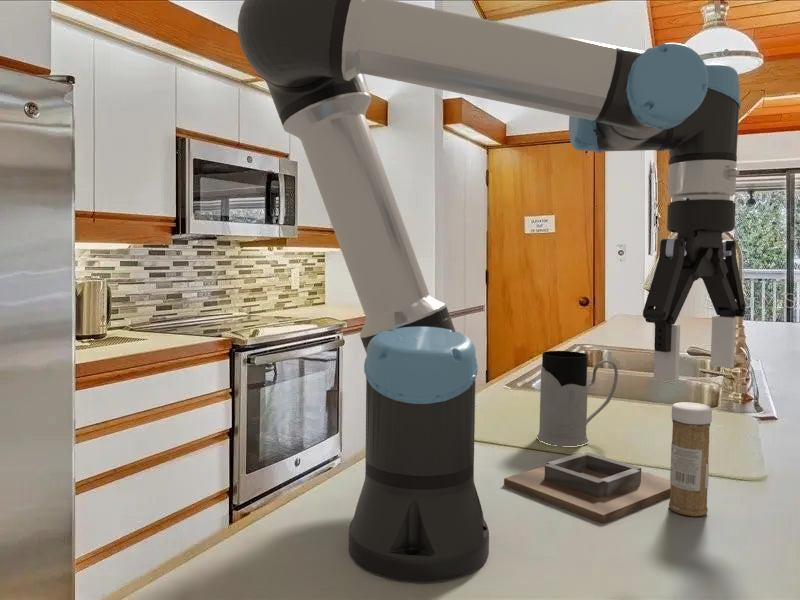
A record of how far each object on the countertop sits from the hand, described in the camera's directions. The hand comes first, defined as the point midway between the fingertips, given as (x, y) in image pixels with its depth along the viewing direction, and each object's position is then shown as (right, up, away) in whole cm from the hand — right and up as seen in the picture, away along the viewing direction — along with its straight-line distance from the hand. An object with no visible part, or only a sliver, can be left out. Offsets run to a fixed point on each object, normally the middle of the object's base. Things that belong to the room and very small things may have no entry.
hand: (695, 372), depth 81 cm
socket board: (-10, -17, +9) cm, 22 cm away
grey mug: (-6, -15, +32) cm, 36 cm away
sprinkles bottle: (0, -18, +1) cm, 18 cm away
